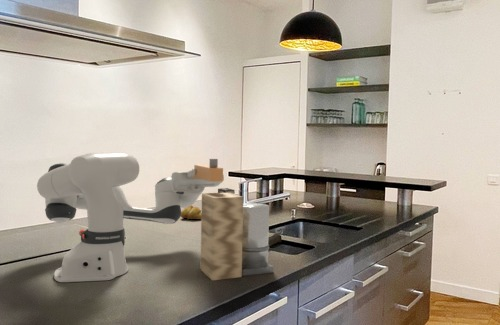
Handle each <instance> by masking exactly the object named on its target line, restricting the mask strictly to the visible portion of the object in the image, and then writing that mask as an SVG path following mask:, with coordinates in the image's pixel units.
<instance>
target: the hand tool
mask: <svg viewBox="0 0 500 325" xmlns="http://www.w3.org/2000/svg"><path fill="white" fill-rule="evenodd" d="M277 243H279V244H280V243H282V235H281V234H279V233H274V234H273V235H271V236H269V238H268V244H269V247H271V246H273V245H275V244H277Z"/></svg>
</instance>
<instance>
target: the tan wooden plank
mask: <svg viewBox="0 0 500 325" xmlns="http://www.w3.org/2000/svg"><path fill="white" fill-rule="evenodd" d="M218 164H219V162H218V158H209V165H208V164H194V168H193V169H197V174H194V177H197V178H200V179H203V180H207V181H210V182H213V181H223V182H224V180H223V176H224V168H223V167H219V166H218Z"/></svg>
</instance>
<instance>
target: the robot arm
mask: <svg viewBox="0 0 500 325" xmlns="http://www.w3.org/2000/svg"><path fill="white" fill-rule="evenodd" d="M139 174H140V164H139V162H138V160H137V158H136V157H134V156H133V155H130V154H127V153H123V152H107V153H106V152H105V153H104V152H100V153H98V152H97V153H94V152H92V153H91V152H90V153H85V154H81V155H79V156H76V157H74V158H72V159H71V161H70V163H64V162H60V163H55V164H52V165H51V166H49V168H48V170H47V172H46V173H44V174H43V175H41V176H40V178H38V180H37V184H36V188H37V192H38V194H39V195H40V196H41V197H42V198H44V200H45V208H44V212H45V216H46V218H47V219H48V220H49V221H52V222H54V223H55V222H56V223H66V222H69V221H72V220H73V219H74V218H75V217H76V213H77V209H78V210H84V211H85V210H86V211H87V229H83V228H82V229H79V230H78V235H79V236H80V242H79V243H78V244H76V245H75V246H74V247H73V248H71V249H70V250H67V252H66V253H65V254H64V256H63V259H62V261H61V262H62V263H61V266H60V267H59V268H57V269H55V271H54V273H53V278H54V280H55V281H57V282H58V283H75V282H77V283H78V282H95V281H98V282H100V281H110V280H113V279H115V278H116V277H119V276H123V275H124V274H126V273H127V272H128V271H129V267H128V265H127V261H126V255H125V254H126V253H125V245H126V244H125V243H126V232H125V228H124V219H127V220H135V221H136V220H137V221H143V222H144V221H145V222H146V221H147V222H154V223H160V224H164V225H171V224H176V223H177V222H178V221H179V220H180V219H181V218H182V217H181V215H182V214H181V212H182V209H181V208H183V209H184V208H187V207H189V206H191V205H192V206H193V205H194V204H195V203H196V202H197V201H198V199H199V197H200V196H201V195H202V193H204V192H203V191H204V190H205V188H213V187H219V185H221V184H222V183H223V182H224V181H225V177H224V175H223V181H213V182H210V181H207V180H203V179H200V178H197V177H194V174H197V169H194V168H192V169H191V170H189V171H175V172H172V173H171V175H170V177H164V178H161V179H160V180H159V181H157V183H155V185H154V195H155V209H153V208H144V207H142V208H141V207H135V206H132V205H131V204H130V203H129V202H128V200H127V197H126V196H125V193H124V191H123V188H121V187H120V186H125V185H127V184H129V183H133V182H134V181H135V180H136V179H138V177H139Z"/></svg>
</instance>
